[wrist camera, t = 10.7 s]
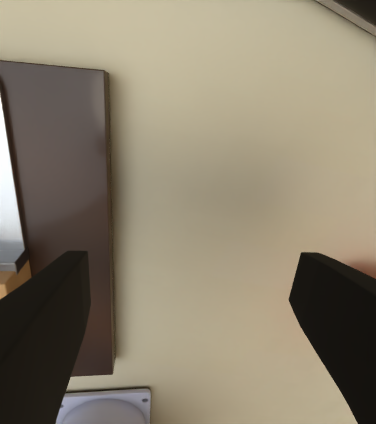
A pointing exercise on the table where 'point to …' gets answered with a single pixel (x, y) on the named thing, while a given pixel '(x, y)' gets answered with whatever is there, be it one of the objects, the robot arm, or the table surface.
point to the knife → (10, 215)
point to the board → (66, 183)
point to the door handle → (355, 12)
